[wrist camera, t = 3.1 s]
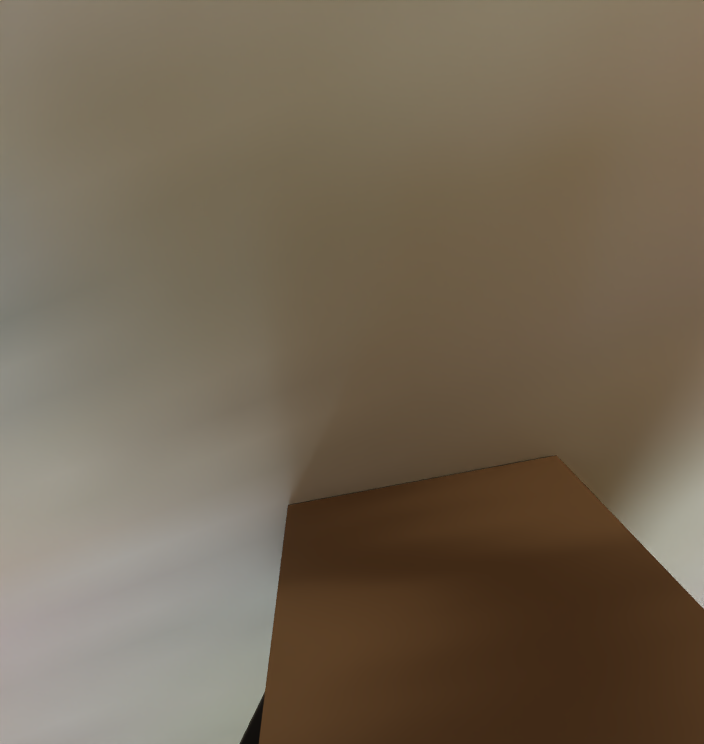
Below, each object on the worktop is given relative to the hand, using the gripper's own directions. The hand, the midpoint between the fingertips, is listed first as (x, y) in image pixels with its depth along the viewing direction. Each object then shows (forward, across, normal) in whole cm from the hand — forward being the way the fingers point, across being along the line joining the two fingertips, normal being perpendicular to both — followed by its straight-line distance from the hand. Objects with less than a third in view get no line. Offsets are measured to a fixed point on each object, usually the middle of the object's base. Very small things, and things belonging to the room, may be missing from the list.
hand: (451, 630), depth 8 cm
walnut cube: (+1, 0, 0) cm, 1 cm away
